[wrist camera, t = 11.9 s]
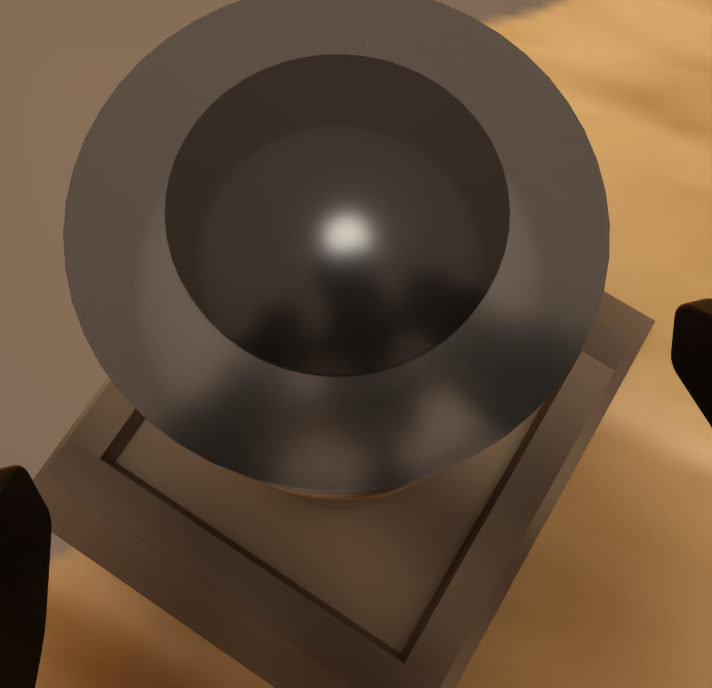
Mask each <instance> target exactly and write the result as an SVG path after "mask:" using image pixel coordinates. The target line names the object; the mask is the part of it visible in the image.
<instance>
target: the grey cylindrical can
mask: <svg viewBox="0 0 712 688" xmlns="http://www.w3.org/2000/svg"><path fill="white" fill-rule="evenodd" d="M609 231H610V223H609V215H608V207H607V199H606V192H605V188H604V184H603V180H602V177H601V173H600V169H599V166H598V162H597V159H596V156H595V154H594V152H593V149H592V147H591V145H590V142H589V140H588V137H587V135H586V133H585V130H584V129H583V127H582V125H581V123H580V122H579V120H578V118H577V117H576V115H575V113H574V112H573V110H572V108H571V106H570V105H569V103H568V102H567V100H566V99H565V98H564V96H563V95H562V94H561V93H560V91H559V90H558V89H557V87H556V86H555V85H554V83H553V82H552V81H551V80H550V78H549V77H548V76H547V75H546V74H545V73H544V72H543V71H542V70H541V69H540V68H539V67H538V66H537V65H536V64H535V63H534V62H533V61H532V60H531V59H530V58H529V57H528V56H527V55H526V54H525V53H524V52H522V51H521V50H520V49H519V48H517V47H516V46H515V45H513V44H512V43H511V42H510V41H508V40H507V39H506V38H505V37H503V36H502V35H501V34H499V33H498V32H496V31H494V30H493V29H491V28H489V27H488V26H486V25H484V24H483V23H481V22H479V21H478V20H476V19H474V18H473V17H471V16H468V15H466V14H464V13H462V12H460V11H458V10H456V9H453V8H451V7H449V6H447V5H445V4H442V3H439V2H436V1H433V0H241V1H238V2H235V3H233V4H230V5H227V6H224V7H222V8H220V9H218V10H216V11H214V12H212V13H210V14H208V15H206V16H204V17H202V18H200V19H198V20H196V21H194V22H192V23H190V24H189V25H187V26H186V27H184V28H183V29H181V30H180V31H178V32H177V33H175V34H174V35H172V36H171V37H169V38H167V39H166V40H165V41H164V42H162V43H161V44H160V45H159V46H158V47H156V48H155V49H154V50H153V51H152V52H151V53H149V54H148V55H147V56H146V57H144V58H143V59H142V60H141V61H140V62H139V63H138V64H137V65H136V66H135V67H134V69H133V70H132V71H131V72H130V73H129V74H128V75H127V76H126V77H125V78H124V79H123V80H122V82H121V83H120V84H119V85H118V86H117V88H116V89H115V91H114V92H113V93H112V95H111V96H110V97H109V99H108V100H107V102H106V103H105V104H104V106H103V107H102V109H101V110H100V112H99V114H98V116H97V117H96V119H95V121H94V123H93V125H92V127H91V128H90V130H89V132H88V134H87V136H86V138H85V140H84V142H83V145H82V148H81V151H80V153H79V156H78V158H77V161H76V164H75V167H74V169H73V173H72V178H71V182H70V186H69V191H68V195H67V200H66V208H65V221H64V233H63V237H64V254H65V269H66V274H67V279H68V283H69V288H70V293H71V298H72V303H73V305H74V308H75V310H76V313H77V316H78V319H79V322H80V324H81V327H82V330H83V333H84V335H85V337H86V339H87V341H88V342H89V344H90V346H91V348H92V350H93V352H94V354H95V355H96V357H97V359H98V361H99V363H100V365H101V367H102V368H103V369H104V371H105V372H106V373H107V375H108V376H109V377H110V379H111V380H112V381H113V383H114V384H115V385H116V387H117V388H118V389H119V391H120V392H121V394H122V395H123V396H124V397H125V398H126V399H127V400H128V401H129V402H130V403H131V404H132V405H133V406H134V407H135V408H136V409H137V410H138V411H139V412H140V413H141V414H142V415H143V416H144V417H145V418H146V419H147V420H148V421H149V422H150V423H151V424H153V425H154V426H155V427H157V428H158V429H159V430H161V431H162V432H163V433H165V434H166V435H167V436H169V437H170V438H171V439H172V440H174V441H175V442H176V443H178V444H179V445H181V446H183V447H185V448H186V449H188V450H190V451H192V452H193V453H195V454H197V455H199V456H201V457H202V458H204V459H206V460H208V461H209V462H211V463H213V464H216V465H219V466H221V467H224V468H226V469H229V470H231V471H234V472H236V473H239V474H241V475H244V476H247V477H249V478H252V479H254V480H257V481H259V482H262V483H264V484H267V485H269V486H272V487H275V488H277V489H280V490H282V491H285V492H287V493H290V494H292V495H295V496H297V497H300V498H303V499H305V500H308V501H310V502H313V503H315V504H319V505H324V506H328V507H337V508H348V507H358V506H364V505H367V504H371V503H374V502H377V501H379V500H381V499H384V498H386V497H388V496H390V495H392V494H394V493H396V492H399V491H401V490H403V489H405V488H407V487H409V486H411V485H414V484H416V483H418V482H420V481H422V480H424V479H426V478H429V477H431V476H433V475H435V474H437V473H439V472H441V471H443V470H446V469H448V468H450V467H452V466H454V465H456V464H458V463H461V462H463V461H465V460H467V459H469V458H471V457H473V456H475V455H477V454H479V453H480V452H482V451H483V450H485V449H486V448H488V447H490V446H491V445H493V444H494V443H496V442H497V441H499V440H501V439H502V438H504V437H505V436H507V435H508V434H509V433H510V432H512V431H513V430H514V429H515V428H516V427H517V426H519V425H520V424H521V423H522V422H523V421H524V420H526V419H527V418H528V417H529V416H530V415H531V414H533V413H534V412H535V411H536V410H537V409H538V408H539V407H540V405H541V404H542V403H543V402H544V401H545V400H546V399H547V397H548V396H549V395H550V394H551V393H552V392H553V391H554V390H555V388H556V387H557V386H558V385H559V384H560V382H561V381H562V379H563V378H564V376H565V375H566V373H567V372H568V370H569V369H570V367H571V366H572V364H573V363H574V361H575V360H576V358H577V357H578V355H579V353H580V351H581V349H582V347H583V345H584V343H585V341H586V338H587V336H588V334H589V332H590V330H591V328H592V326H593V324H594V321H595V318H596V314H597V311H598V308H599V305H600V301H601V298H602V295H603V291H604V287H605V280H606V274H607V267H608V261H609Z"/></svg>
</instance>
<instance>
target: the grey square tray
mask: <svg viewBox="0 0 712 688" xmlns="http://www.w3.org/2000/svg"><path fill="white" fill-rule="evenodd" d="M654 323H655V321H654V320H653V319H651V318H649V317H648V316H646V315H644V314H642V313H641V312H639V311H637V310H635V309H634V308H632V307H630V306H628V305H627V304H625V303H623V302H622V301H620V300H618V299H616V298H615V297H613V296H611V295H609V294H608V293H606V292H604V291H603V295H602V298H601V301H600V305H599V308H598V311H597V314H596V318H595V321H594V324H593V326H592V328H591V330H590V332H589V334H588V336H587V338H586V341H585V343H584V345H583V347H582V349H581V351H580V353H579V355H578V357H577V358H576V360H575V361H574V363H573V364H572V366H571V367H570V369H569V370H568V372H567V373H566V375H565V376H564V378H563V379H562V381H561V382H560V384H559V385H558V386H557V387H556V388H555V390H554V391H553V392H552V393H551V394H550V395H549V396H548V397H547V399H546V400H545V401H544V402H543V403H542V404H541V405H540V407H539V408H538V409H537V410H536V411H535V412H534V413H533V414H531V415H530V416H529V417H528V418H527V419H526V420H524V421H523V422H522V423H521V424H520V425H519V426H517V427H516V428H515V429H514V430H513V431H512V432H510V433H509V434H508V435H507V436H505V437H504V438H502V439H501V440H499V441H497V442H496V443H494V444H493V445H491V446H490V447H488V448H486V449H485V450H483V451H482V452H480V453H479V454H477V455H475V456H473V457H471V458H469V459H467V460H465V461H463V462H461V463H458V464H456V465H454V466H452V467H450V468H448V469H446V470H443V471H441V472H439V473H437V474H435V475H433V476H431V477H429V478H426V479H424V480H422V481H420V482H418V483H416V484H414V485H411V486H409V487H407V488H405V489H403V490H401V491H399V492H396V493H394V494H392V495H390V496H388V497H386V498H384V499H381V500H379V501H377V502H374V503H371V504H367V505H364V506H358V507H348V508H337V507H328V506H324V505H319V504H315V503H313V502H310V501H308V500H305V499H303V498H300V497H297V496H295V495H292V494H290V493H287V492H285V491H282V490H280V489H277V488H275V487H272V486H269V485H267V484H264V483H262V482H259V481H257V480H254V479H252V478H249V477H247V476H244V475H241V474H239V473H236V472H234V471H231V470H229V469H226V468H224V467H221V466H219V465H216V464H213V463H211V462H209V461H208V460H206V459H204V458H202V457H201V456H199V455H197V454H195V453H193V452H192V451H190V450H188V449H186V448H185V447H183V446H181V445H179V444H178V443H176V442H175V441H174V440H172V439H171V438H170V437H169V436H167V435H166V434H165V433H163V432H162V431H161V430H159V429H158V428H157V427H155V426H154V425H153V424H151V423H150V422H149V421H148V420H147V419H146V418H145V417H144V416H143V415H142V414H141V413H140V412H139V411H138V410H137V409H136V408H135V407H134V406H133V405H132V404H131V403H130V402H129V401H128V400H127V399H126V398H125V397H124V396H123V395H122V394H121V392H120V391H119V389H118V388H117V387H116V385H115V384H114V383H113V381H112V380H111V379H110V377H109V376H108V378H107V379H106V380H105V382H104V383H103V384H102V386H101V387H100V388H99V390H98V391H97V393H96V394H95V396H94V397H93V398H92V400H91V401H90V402H89V404H88V405H87V406H86V408H85V409H84V410H83V412H82V413H81V415H80V416H79V417H78V419H77V420H76V422H75V423H74V424H73V426H72V427H71V428H70V430H69V431H68V432H67V434H66V435H65V437H64V438H63V439H62V441H61V442H60V443H59V445H58V446H57V447H56V449H55V450H54V452H53V453H52V454H51V456H50V457H49V458H48V460H47V461H46V463H45V464H44V465H43V467H42V468H41V469H40V471H39V472H38V474H37V475H36V476H35V478H34V479H33V482H34V484H35V486H36V488H37V489H38V491H39V493H40V495H41V496H42V498H43V500H44V502H45V504H46V505H47V507H48V509H49V512H50V516H51V522H52V530H51V532H53V533H54V534H56V535H57V536H58V537H60V538H61V539H63V540H64V541H66V542H67V543H68V544H70V545H71V546H73V547H74V548H76V549H77V550H79V551H80V552H81V553H83V554H84V555H86V556H87V557H89V558H90V559H91V560H93V561H94V562H96V563H97V564H99V565H100V566H102V567H103V568H104V569H106V570H107V571H109V572H110V573H112V574H113V575H114V576H116V577H117V578H119V579H120V580H122V581H123V582H124V583H126V584H127V585H129V586H130V587H132V588H133V589H135V590H136V591H137V592H139V593H140V594H142V595H143V596H145V597H146V598H147V599H149V600H150V601H152V602H153V603H155V604H156V605H158V606H159V607H160V608H162V609H163V610H165V611H166V612H168V613H169V614H170V615H172V616H173V617H175V618H176V619H178V620H179V621H181V622H182V623H183V624H185V625H186V626H188V627H189V628H191V629H192V630H193V631H195V632H196V633H198V634H199V635H201V636H202V637H203V638H205V639H206V640H208V641H209V642H211V643H212V644H214V645H215V646H216V647H218V648H219V649H221V650H222V651H224V652H225V653H226V654H228V655H229V656H231V657H232V658H234V659H235V660H237V661H238V662H239V663H241V664H242V665H244V666H245V667H247V668H248V669H249V670H251V671H252V672H254V673H255V674H257V675H258V676H259V677H261V678H262V679H264V680H265V681H267V682H268V683H270V684H271V685H272V686H274V687H275V688H455V686H456V684H457V683H458V681H459V679H460V677H461V675H462V673H463V672H464V670H465V668H466V666H467V664H468V663H469V661H470V659H471V657H472V655H473V653H474V652H475V650H476V648H477V646H478V644H479V642H480V641H481V639H482V637H483V635H484V633H485V631H486V630H487V628H488V626H489V624H490V622H491V620H492V619H493V617H494V615H495V613H496V611H497V610H498V608H499V606H500V604H501V602H502V600H503V599H504V597H505V595H506V593H507V591H508V589H509V588H510V586H511V584H512V582H513V580H514V578H515V577H516V575H517V573H518V571H519V569H520V567H521V566H522V564H523V562H524V560H525V558H526V556H527V555H528V553H529V551H530V549H531V547H532V546H533V544H534V542H535V540H536V538H537V536H538V535H539V533H540V531H541V529H542V527H543V525H544V524H545V522H546V520H547V518H548V516H549V514H550V513H551V511H552V509H553V507H554V505H555V503H556V502H557V500H558V498H559V496H560V494H561V493H562V491H563V489H564V487H565V485H566V483H567V482H568V480H569V478H570V476H571V474H572V472H573V471H574V469H575V467H576V465H577V463H578V461H579V460H580V458H581V456H582V454H583V452H584V450H585V449H586V447H587V445H588V443H589V441H590V440H591V438H592V436H593V434H594V432H595V430H596V429H597V427H598V425H599V423H600V421H601V419H602V418H603V416H604V414H605V412H606V410H607V408H608V407H609V405H610V403H611V401H612V399H613V397H614V396H615V394H616V392H617V390H618V388H619V387H620V385H621V383H622V381H623V379H624V377H625V376H626V374H627V372H628V370H629V368H630V366H631V365H632V363H633V361H634V359H635V357H636V355H637V354H638V352H639V350H640V348H641V346H642V344H643V343H644V341H645V339H646V337H647V335H648V333H649V332H650V330H651V328H652V326H653V324H654Z"/></svg>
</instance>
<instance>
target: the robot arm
mask: <svg viewBox="0 0 712 688" xmlns="http://www.w3.org/2000/svg"><path fill="white" fill-rule="evenodd" d="M671 359H672V364H673V367H674V370H675V372H676V373H677V375H678V376H679V378H680V380H681V381H682V383H683V384H684V386H685V387H686V389H687V390H688V392H689V393H690V395H691V396H692V398H693V399H694V401H695V402H696V404H697V405H698V407H699V409H700V410H701V412H702V413H703V415H704V416H705V418H706V419H707V421H708V422H709V424H710V425H711V427H712V299H710V298H708V299H701V300H697V301H693V302H689V303H685V304H682V305H680V306H679V307H678V308H677V310H676V312H675V317H674V327H673V338H672V349H671ZM51 530H52V522H51V516H50V512H49V509H48V507H47V505H46V504H45V502H44V500H43V498H42V496H41V495H40V493H39V491H38V489H37V488H36V486H35V484H34V482H33V480H32V479H31V477H30V475H29V473H28V472H27V471H26V469H24V468H23V467H22V466H19V465H12V466H8V467H4V468H0V688H35V684H36V679H37V674H38V668H39V663H40V657H41V652H42V645H43V639H44V633H45V623H46V611H47V595H48V579H49V563H50V547H51Z"/></svg>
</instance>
